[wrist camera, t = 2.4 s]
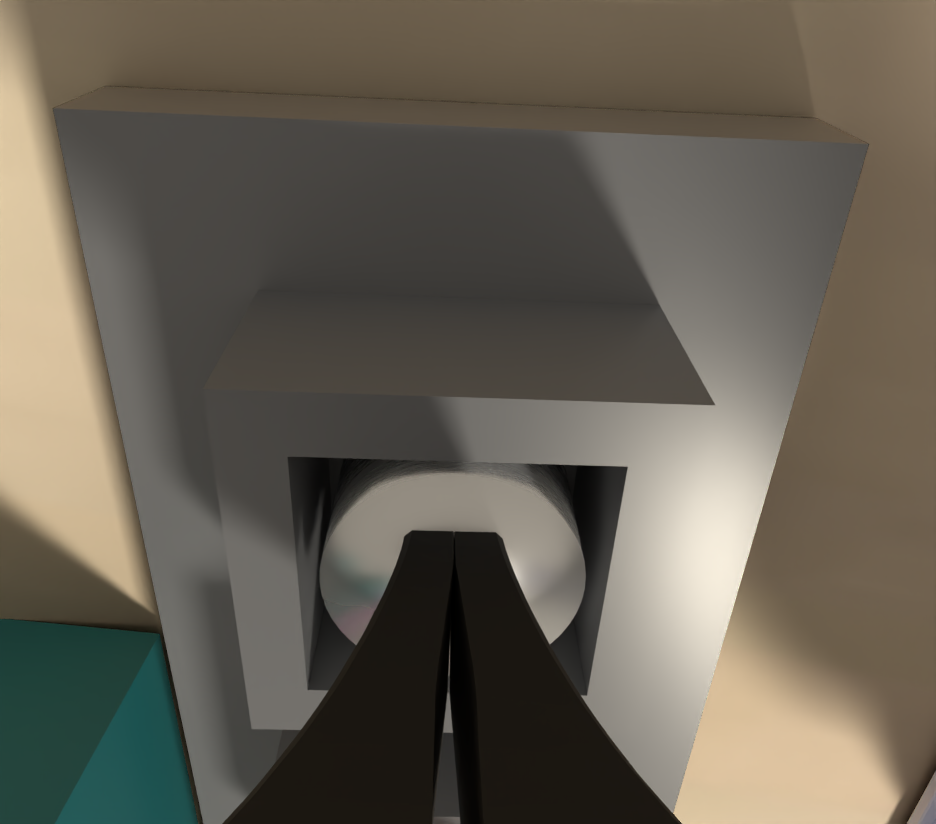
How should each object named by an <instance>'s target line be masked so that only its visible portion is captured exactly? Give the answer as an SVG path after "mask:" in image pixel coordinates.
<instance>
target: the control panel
mask: <svg viewBox="0 0 936 824" xmlns="http://www.w3.org/2000/svg"><path fill="white" fill-rule="evenodd" d="M53 111H54V116H55V121H56V126H57V130H58V135H59V140H60V145H61V149H62V154H63V159H64V164H65V168H66V173H67V178H68V183H69V187H70V192H71V197H72V202H73V206H74V211H75V216H76V221H77V225H78V230H79V235H80V240H81V244H82V249H83V254H84V259H85V263H86V268H87V273H88V278H89V282H90V287H91V292H92V297H93V301H94V306H95V311H96V316H97V320H98V325H99V330H100V335H101V339H102V344H103V349H104V354H105V358H106V363H107V368H108V373H109V377H110V382H111V387H112V392H113V396H114V401H115V406H116V411H117V415H118V420H119V425H120V430H121V434H122V439H123V444H124V449H125V453H126V458H127V463H128V468H129V472H130V477H131V482H132V487H133V491H134V496H135V501H136V506H137V510H138V515H139V520H140V525H141V530H142V534H143V539H144V544H145V549H146V553H147V558H148V563H149V568H150V572H151V577H152V582H153V587H154V591H155V596H156V601H157V606H158V610H159V615H160V620H161V625H162V629H163V634H164V639H165V644H166V648H167V653H168V658H169V663H170V667H171V672H172V677H173V682H174V686H175V691H176V696H177V701H178V705H179V710H180V715H181V720H182V724H183V729H184V734H185V739H186V743H187V748H188V753H189V758H190V762H191V767H192V772H193V777H194V781H195V786H196V791H197V796H198V800H199V805H200V810H201V815H202V819H203V824H222V823H223V822H224V821H225V820H226V819H227V818H228V817H229V816H230V815H231V814H232V812H233V811H234V810H235V809H236V808H237V807H238V806H239V805H240V804H241V803H242V802H243V801H244V799H245V798H246V797H247V796H248V795H249V794H250V793H251V791H252V790H253V789H254V788H255V787H256V786H257V784H258V783H259V782H260V781H261V780H262V779H263V777H264V776H265V775H266V774H267V773H268V771H269V770H270V769H271V767H272V766H273V765H274V764H275V762H276V761H277V760H278V759H279V757H280V756H281V755H282V754H283V752H284V751H285V750H286V749H287V747H288V746H289V745H290V743H291V742H292V741H293V740H294V738H295V737H296V736H297V734H298V733H299V732H300V730H301V729H302V728H303V726H304V725H305V724H306V722H307V721H308V719H309V718H310V717H311V715H312V714H313V712H314V711H315V710H316V708H317V707H318V705H319V704H320V702H321V701H322V700H323V698H324V697H325V695H326V694H327V692H328V691H329V689H330V688H331V686H332V684H333V683H334V681H335V680H336V678H337V677H338V675H339V673H340V672H341V670H342V668H343V667H344V665H345V663H346V662H347V660H348V658H349V657H350V655H351V653H352V652H353V650H354V648H355V647H356V645H355V644H354V643H353V642H352V641H350V640H349V639H348V638H347V637H346V636H345V635H344V634H343V633H342V632H341V630H340V629H339V628H338V627H337V625H336V624H335V622H334V621H333V620H332V618H331V616H330V614H329V612H328V610H327V609H326V606H325V603H324V600H323V597H322V594H321V588H320V565H321V560H322V555H323V550H324V546H325V541H326V536H327V532H328V527H329V522H330V518H331V513H332V509H333V504H334V499H335V495H336V490H337V486H338V481H339V476H340V472H341V467H342V463H343V458H354V459H388V460H422V461H455V462H489V463H523V464H557V465H565V469H566V474H567V479H568V484H569V489H570V494H571V499H572V503H573V508H574V513H575V518H576V523H577V528H578V532H579V537H580V542H581V547H582V552H583V557H584V562H585V571H586V581H585V590H584V594H583V598H582V601H581V604H580V606H579V608H578V611H577V613H576V615H575V616H574V618H573V619H572V621H571V623H570V624H569V625H568V627H567V628H566V629H565V630H564V631H563V633H562V634H561V635H560V636H559V637H558V638H557V639H555V640H554V641H553V642H552V643H551V644H550V646H551V648H552V649H553V651H554V653H555V655H556V656H557V658H558V660H559V661H560V663H561V665H562V666H563V668H564V670H565V671H566V673H567V674H568V676H569V678H570V679H571V681H572V683H573V684H574V686H575V687H576V689H577V690H578V692H579V694H580V695H581V697H582V698H583V700H584V701H585V703H586V704H587V706H588V707H589V709H590V710H591V711H592V713H593V714H594V716H595V717H596V719H597V720H598V721H599V723H600V724H601V726H602V727H603V728H604V730H605V731H606V732H607V734H608V735H609V737H610V738H611V739H612V741H613V742H614V743H615V745H616V746H617V747H618V748H619V750H620V751H621V752H622V754H623V755H624V756H625V757H626V759H627V760H628V761H629V763H630V764H631V765H632V766H633V768H634V769H635V770H636V772H637V773H638V774H639V775H640V776H641V778H642V779H643V780H644V781H645V782H646V783H647V785H648V786H649V787H650V788H651V789H652V790H653V791H654V793H655V794H656V795H657V796H658V797H659V798H660V799H661V801H662V802H663V803H664V804H665V805H666V806H667V807H668V809H669V810H670V811H671V812H672V813H673V812H674V808H675V805H676V801H677V798H678V795H679V791H680V788H681V784H682V781H683V778H684V774H685V771H686V767H687V764H688V760H689V757H690V754H691V750H692V747H693V743H694V740H695V737H696V733H697V730H698V726H699V723H700V719H701V716H702V713H703V709H704V706H705V702H706V699H707V696H708V692H709V689H710V685H711V682H712V678H713V675H714V672H715V668H716V665H717V661H718V658H719V655H720V651H721V648H722V644H723V641H724V638H725V634H726V631H727V627H728V624H729V620H730V617H731V614H732V610H733V607H734V603H735V600H736V597H737V593H738V590H739V586H740V583H741V579H742V576H743V573H744V569H745V566H746V562H747V559H748V556H749V552H750V549H751V545H752V542H753V538H754V535H755V532H756V528H757V525H758V521H759V518H760V515H761V511H762V508H763V504H764V501H765V497H766V494H767V491H768V487H769V484H770V480H771V477H772V474H773V470H774V467H775V463H776V460H777V456H778V453H779V450H780V446H781V443H782V439H783V436H784V433H785V429H786V426H787V422H788V419H789V415H790V412H791V409H792V405H793V402H794V398H795V395H796V392H797V388H798V385H799V381H800V378H801V374H802V371H803V368H804V364H805V361H806V357H807V354H808V351H809V347H810V344H811V340H812V337H813V333H814V330H815V327H816V323H817V320H818V316H819V313H820V310H821V306H822V303H823V299H824V296H825V293H826V289H827V286H828V282H829V279H830V275H831V272H832V269H833V265H834V262H835V258H836V255H837V252H838V248H839V245H840V241H841V238H842V234H843V231H844V228H845V224H846V221H847V217H848V214H849V211H850V207H851V204H852V200H853V197H854V193H855V190H856V187H857V183H858V180H859V176H860V173H861V170H862V166H863V163H864V159H865V156H866V152H867V149H868V146H869V144H868V143H866V142H864V141H862V140H860V139H858V138H856V137H854V136H852V135H850V134H848V133H846V132H844V131H842V130H840V129H838V128H836V127H834V126H832V125H830V124H828V123H825V122H823V121H821V120H819V119H817V118H802V117H779V116H757V115H735V114H713V113H690V112H668V111H646V110H624V109H601V108H579V107H557V106H534V105H512V104H490V103H468V102H445V101H423V100H401V99H379V98H356V97H334V96H312V95H290V94H267V93H245V92H223V91H201V90H178V89H156V88H134V87H112V86H105V87H102V88H100V89H98V90H95V91H93V92H90V93H88V94H86V95H83V96H81V97H78V98H76V99H74V100H71V101H69V102H67V103H64V104H62V105H59V106H57V107H55V108H53ZM449 685H450V676H448V693H447V703H446V712H445V721H444V730H443V739H442V748H441V757H440V766H439V775H438V784H437V793H436V802H435V811H434V820H433V824H460V813H459V801H458V789H457V778H456V766H455V754H454V743H453V731H452V719H451V707H450V694H449Z"/></svg>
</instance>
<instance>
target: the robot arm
mask: <svg viewBox="0 0 936 824" xmlns="http://www.w3.org/2000/svg"><path fill="white" fill-rule="evenodd" d="M449 651H450V685H449V694H450V707H451V719H452V731H453V743H454V754H455V766H456V778H457V789H458V801H459V813H460V824H682V823H681V822H680V821H679V820H678V819H677V818H676V816H675V815H674V814H673V813H672V812H671V811H670V810H669V809H668V807H667V806H666V805H665V804H664V803H663V802H662V801H661V799H660V798H659V797H658V796H657V795H656V794H655V793H654V791H653V790H652V789H651V788H650V787H649V786H648V785H647V783H646V782H645V781H644V780H643V779H642V778H641V776H640V775H639V774H638V773H637V772H636V770H635V769H634V768H633V766H632V765H631V764H630V763H629V761H628V760H627V759H626V757H625V756H624V755H623V754H622V752H621V751H620V750H619V748H618V747H617V746H616V745H615V743H614V742H613V741H612V739H611V738H610V737H609V735H608V734H607V732H606V731H605V730H604V728H603V727H602V726H601V724H600V723H599V721H598V720H597V719H596V717H595V716H594V714H593V713H592V711H591V710H590V709H589V707H588V706H587V704H586V703H585V701H584V700H583V698H582V697H581V695H580V694H579V692H578V690H577V689H576V687H575V686H574V684H573V683H572V681H571V679H570V678H569V676H568V674H567V673H566V671H565V670H564V668H563V666H562V665H561V663H560V661H559V660H558V658H557V656H556V655H555V653H554V651H553V649H552V648H551V646H550V644H549V642H548V640H547V638H546V637H545V635H544V633H543V631H542V629H541V627H540V625H539V623H538V621H537V620H536V618H535V616H534V614H533V612H532V610H531V608H530V606H529V604H528V602H527V600H526V598H525V596H524V593H523V591H522V589H521V587H520V584H519V582H518V580H517V578H516V575H515V573H514V570H513V568H512V565H511V563H510V560H509V557H508V554H507V551H506V548H505V545H504V541H503V538H502V537H500V536H499V535H498V534H497V533H496V532H461V531H455V541H454V554H453V531H423V530H412V531H410V532H409V533H408V534H406V535H405V536H404V540H403V544H402V548H401V551H400V554H399V557H398V560H397V563H396V565H395V568H394V571H393V573H392V575H391V578H390V580H389V582H388V585H387V587H386V589H385V591H384V594H383V596H382V598H381V600H380V602H379V604H378V606H377V608H376V609H375V611H374V613H373V615H372V617H371V619H370V621H369V623H368V625H367V627H366V629H365V631H364V633H363V635H362V636H361V638H360V640H359V642H358V643H357V645H356V647H355V648H354V650H353V652H352V653H351V655H350V657H349V658H348V660H347V662H346V663H345V665H344V667H343V668H342V670H341V672H340V673H339V675H338V677H337V678H336V680H335V681H334V683H333V684H332V686H331V688H330V689H329V691H328V692H327V694H326V695H325V697H324V698H323V700H322V701H321V702H320V704H319V705H318V707H317V708H316V710H315V711H314V712H313V714H312V715H311V717H310V718H309V719H308V721H307V722H306V724H305V725H304V726H303V728H302V729H301V730H300V732H299V733H298V734H297V736H296V737H295V738H294V740H293V741H292V742H291V743H290V745H289V746H288V747H287V749H286V750H285V751H284V752H283V754H282V755H281V756H280V757H279V759H278V760H277V761H276V762H275V764H274V765H273V766H272V767H271V769H270V770H269V771H268V773H267V774H266V775H265V776H264V777H263V779H262V780H261V781H260V782H259V783H258V784H257V786H256V787H255V788H254V789H253V790H252V791H251V793H250V794H249V795H248V796H247V797H246V798H245V799H244V801H243V802H242V803H241V804H240V805H239V806H238V807H237V808H236V809H235V810H234V811H233V812H232V814H231V815H230V816H229V817H228V818H227V819H226V820H225V821H224V822H223V823H222V824H433V820H434V811H435V802H436V793H437V784H438V775H439V766H440V757H441V748H442V739H443V730H444V721H445V712H446V703H447V693H448V673H449ZM907 824H936V771H935V773H934V775H933V777H932V779H931V780H930V782H929V784H928V786H927V788H926V790H925V791H924V793H923V795H922V797H921V799H920V800H919V802H918V804H917V806H916V808H915V810H914V811H913V813H912V815H911V817H910V819H909V821H908V822H907Z"/></svg>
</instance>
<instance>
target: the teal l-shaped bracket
mask: <svg viewBox="0 0 936 824" xmlns="http://www.w3.org/2000/svg"><path fill="white" fill-rule="evenodd" d="M0 824H198V820H197V815H196V810H195V805H194V800H193V795H192V790H191V785H190V780H189V775H188V771H187V766H186V761H185V756H184V751H183V746H182V741H181V736H180V731H179V726H178V721H177V716H176V712H175V707H174V702H173V697H172V692H171V687H170V682H169V677H168V672H167V667H166V662H165V657H164V653H163V648H162V643H161V638H160V634H157V633H147V632H136V631H126V630H116V629H106V628H95V627H85V626H75V625H65V624H54V623H44V622H34V621H24V620H13V619H0Z"/></svg>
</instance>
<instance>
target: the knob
mask: <svg viewBox="0 0 936 824" xmlns="http://www.w3.org/2000/svg"><path fill="white" fill-rule="evenodd" d="M412 530H423V531H453V554H454V541H455V531H461V532H496V533H497V534H498V535H499V536H500V537H502V538H503V541H504V545H505V548H506V551H507V554H508V557H509V560H510V563H511V565H512V568H513V570H514V573H515V575H516V578H517V580H518V582H519V584H520V587H521V589H522V591H523V593H524V596H525V598H526V600H527V602H528V604H529V606H530V608H531V610H532V612H533V614H534V616H535V618H536V620H537V621H538V623H539V625H540V627H541V629H542V631H543V633H544V635H545V637H546V638H547V640H548V642H549V644H551V643H552V642H553V641H554V640H555V639H557V638H558V637H559V636H560V635H561V634H562V633H563V631H564V630H565V629H566V628H567V627H568V625H569V624H570V623H571V621H572V619H573V618H574V616H575V615H576V613H577V611H578V608H579V606H580V604H581V601H582V598H583V594H584V590H585V581H586V571H585V562H584V557H583V552H582V547H581V542H580V537H579V532H578V528H577V523H576V518H575V513H574V508H573V503H572V499H571V494H570V489H569V484H568V479H567V474H566V469H565V465H557V464H523V463H489V462H455V461H422V460H388V459H354V458H343V463H342V467H341V472H340V476H339V481H338V486H337V490H336V495H335V499H334V504H333V509H332V513H331V518H330V522H329V527H328V532H327V536H326V541H325V546H324V550H323V555H322V560H321V565H320V588H321V594H322V597H323V600H324V603H325V606H326V609H327V610H328V612H329V614H330V616H331V618H332V620H333V621H334V622H335V624H336V625H337V627H338V628H339V629H340V630H341V632H342V633H343V634H344V635H345V636H346V637H347V638H348V639H349V640H350V641H352V642H353V643H354V644H355V645H357V643H358V642H359V640H360V638H361V636H362V635H363V633H364V631H365V629H366V627H367V625H368V623H369V621H370V619H371V617H372V615H373V613H374V611H375V609H376V608H377V606H378V604H379V602H380V600H381V598H382V596H383V594H384V591H385V589H386V587H387V585H388V582H389V580H390V578H391V575H392V573H393V571H394V568H395V565H396V563H397V560H398V557H399V554H400V551H401V548H402V544H403V540H404V536H405V535H406V534H408V533H409V532H410V531H412ZM448 676H450V651H449V673H448Z"/></svg>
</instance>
